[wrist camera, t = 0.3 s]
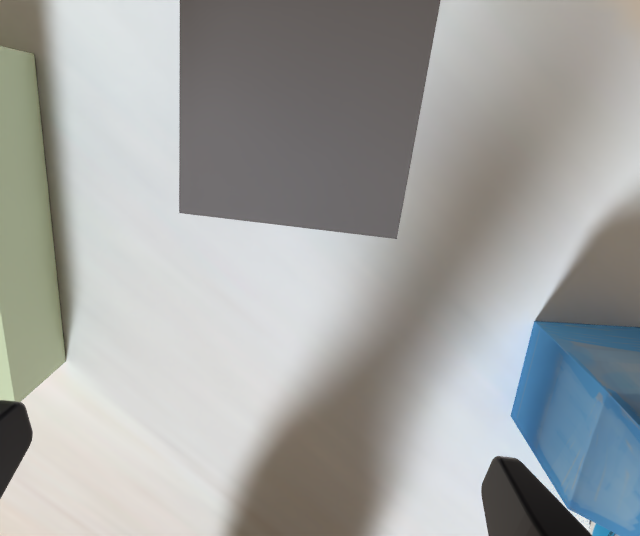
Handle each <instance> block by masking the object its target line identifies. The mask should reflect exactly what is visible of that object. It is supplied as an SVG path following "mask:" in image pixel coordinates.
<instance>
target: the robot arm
mask: <svg viewBox="0 0 640 536" xmlns="http://www.w3.org/2000/svg"><path fill="white" fill-rule="evenodd" d="M32 434H33V432H32V428H31V424H30V421H29V417H28V414H27V410H26V407H25V405H24V404H23V403H21V402H16V401H7V400H0V499H1V497H2V495H3V493H4V491H5V489H6V488H7V486H8V484H9V482H10V480H11V479H12V477H13V475H14V473H15V471H16V470H17V468H18V466H19V464H20V462H21V461H22V459H23V457H24V455H25V453H26V451H27V450H28V448H29V446H30V444H31V441H32ZM481 492H482V500H483V506H484V512H485V517H486V523H487V529H488V534H489V536H592V535H591V534H590V533H589V532H588V530H587V529H586V528H585V527H584V526H583V525H582V524H581V523H580V522H579V521H578V520H577V519H576V518H575V517H574V516H573V515H572V514H571V513H570V512H569V511H568V510H567V509H566V508H565V507H564V506H563V505H562V504H561V503H560V502H559V500H558V499H557V498H556V497H555V496H554V495H553V494H552V493H551V492H550V491H549V490H548V489H547V488H546V487H545V486H544V485H543V484H542V483H541V482H540V481H539V480H538V479H537V478H536V477H535V476H534V475H533V474H532V473H531V472H530V471H529V469H528V468H527V467H526V466H525V465H524V464H523V463H522V462H521V461H519V460H518V459H516V458H511V457H502V456H496V457H495V458H494V459H493V460H492V462H491V465H490V467H489V469H488V471H487V474H486V476H485V478H484V480H483V483H482V490H481Z"/></svg>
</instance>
